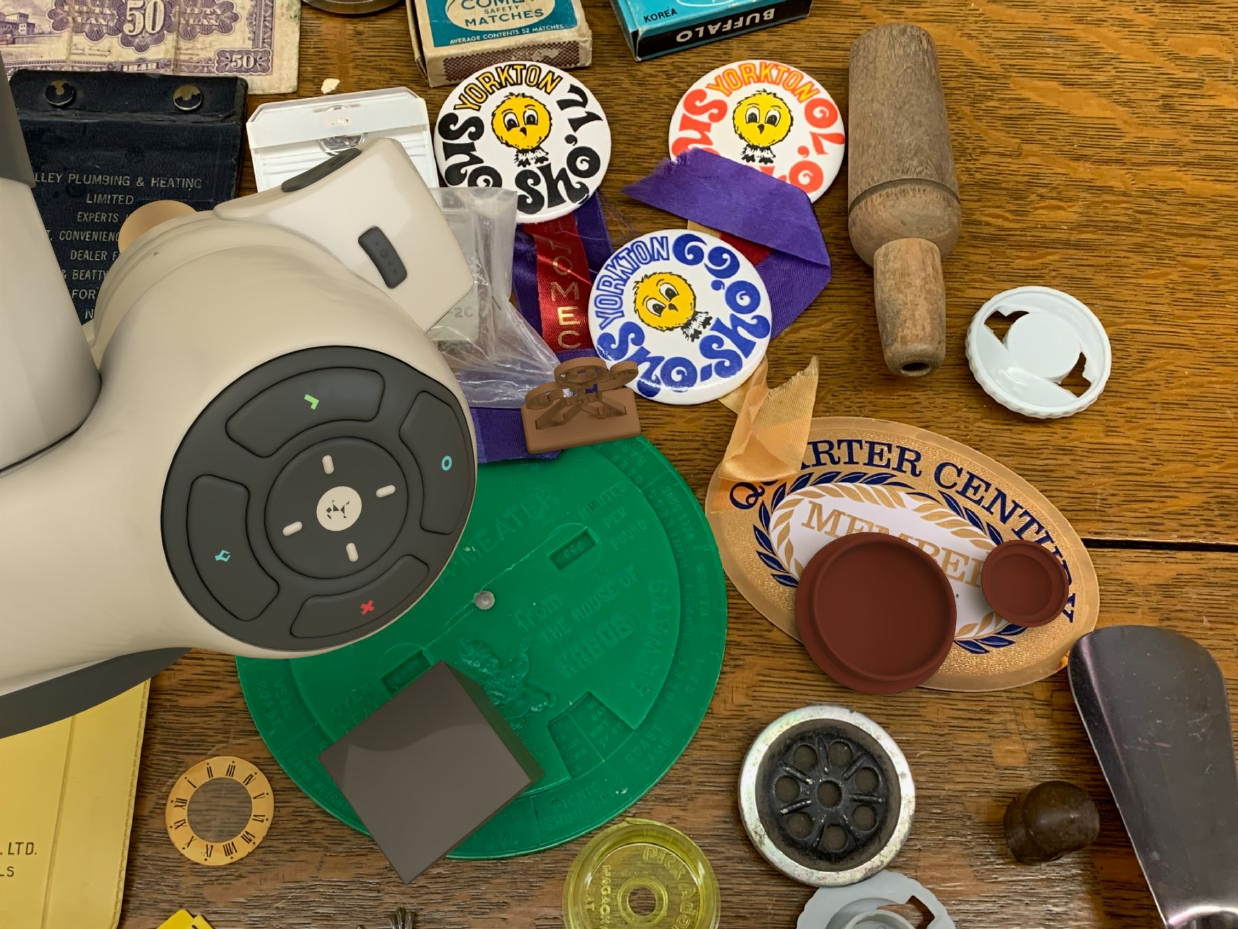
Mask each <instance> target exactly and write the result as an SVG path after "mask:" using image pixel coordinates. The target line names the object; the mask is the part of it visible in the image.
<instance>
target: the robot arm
mask: <svg viewBox="0 0 1238 929" xmlns="http://www.w3.org/2000/svg"><path fill="white" fill-rule="evenodd" d="M20 122H21V121H20V119H19V115H18V112H17V107H16V104H15V101H14V97H13V93H12V89H11V85H10V82H9V77H8V74H7V70H6V66H5V62H4V60H3V55H2V51H1V50H0V740H2V739H6V738H9V737H12V736H13V737H14V736H16V735H19V734H23V733H27V732H30V731H33V730H36V729H39V728H42V727H46V726H49V725H51V724H54V723H58V722H60V721H62V720H66V719H69V718H70V717H71V718H72V717H73V716H76V715H78V714H80V713H83V712H86V711H88V710H90V709H93V708H95V707H97V706H99V705H102V704H104V703H105V702H108V701H110V700H112V699H114V698H115V697H118V696H120V695H122V694H124V693H125V692H128V691H130V690H132V689H134V688H135V687H137V686H139V685H141V684H142V683H144V682H146V681H148V680H149V679H151V678H153V677H155V676H156V675H158V674H160V673H162V672H163V671H165V670H166V669H168V668H169V667H172V665H174V664H175V663H177V662H178V661H179V660H181V658H183V657H184V656H185V655H187V654H188V653H190V652H191V651H192V650H193V649H202V650H207V651H212V652H217V653H223V654H227V655H231V656H237V657H244V658H251V659H268V660H284V659H298V658H307V657H313V656H318V655H322V654H326V653H329V652H332V651H336V650H340V649H342V648H345V647H347V646H350V645H352V644H355V643H357V642H360V641H362V640H365V639H368V638H370V637H371V636H373V635H375V634H377V633H379V632H380V631H383V630H384V629H385V628H387V627H388V626H390V625H392V624H393V623H394V622H396V621H397V620H399V619H400V618H401V617H403V616H404V615H405V614H406V613H407V612H409V611H410V610H411V609H412V608H413V607H414V606H415V605H417V603H418V602H419V601H420V600H422V598H423V597H424V596H425V595H426V594H427V593H428V592H429V590H430V589H431V588H432V587H433V586H434V584H436V582H437V581H438V579H439V578H440V576H441V575H442V573H443V571H444V570H445V569H446V567H447V566H448V564H449V562H450V561H451V559H452V558H453V555H454V553H455V551H456V549H457V548H458V546H459V543H460V542H461V538H462V536H463V533H464V532H465V529H466V527H467V524H468V521H469V518H470V514H471V512H472V507H473V504H474V500H475V495H476V488H477V480H478V447H477V446H478V445H477V444H478V443H477V436H476V429H475V423H474V420H473V417H472V413H471V410H470V406H469V403H468V401H467V400H468V399H467V398H466V396H465V393H464V392H463V389H462V387H461V385H460V383H459V381H458V379H457V378H456V376H455V374H454V373H453V371H452V369H451V367H450V365H449V364H448V362H447V361H446V359H445V357H444V356H443V354H442V353H441V352H440V350H439V348H437V346H436V345H435V344H434V342H433V341H432V339H431V338H430V336H428V335H427V334H428V332H429V331H431V330H432V329H433V327H435V326H436V325H437V324H438V323H439V322H440V321H441V320H442V319H443V318H444V317H445V316H446V315H448V313H450V312H451V310H452V309H453V308H454V307H455V306H457V305H458V304H459V303H460V302H461V301H462V300H463V299H464V298H466V296H467V295H468V294H469V293H470V292H471V291H472V289H473V287H474V284H475V277H474V274H473V272H472V270H471V267H470V265H469V263H468V260H467V258H466V256H465V253H464V252H463V249H462V246H461V245H460V243H459V241H458V238H456V234H455V232H454V230H453V228H452V227H451V225H450V223H449V222H448V219H447V217H446V216H445V214H444V212H443V211H442V209H441V207H440V205H439V203H438V201H437V200H436V198H435V196H434V194H433V193H432V191H431V189H430V188H429V186H428V184H427V182H426V181H425V179H424V178H423V176H422V175H421V174H420V171H419V170H418V168H417V167H416V165H415V163H414V162H413V160H412V159H411V157H410V155H409V153H408V151H407V150H406V149H405V147H404V146H403V144H402V143H401V142H400V141H399V140H398V139H396V138H393V137H385V136H379V137H372V138H368V139H366V140H363V141H361V142H360V143H359V144H357V145H355V146H353V147H349V148H347V149H344V150H342V151H341V152H339V153H337V154H335V155H334V156H332V157H330V158H327V160H325V161H323V162H320V163H319V164H317V165H315V166H313V167H312V168H310V169H308V170H305V171H304V172H301V173H299V174H297V175H295V176H293V177H290V178H288V179H286V180H284V181H283V182H282V183H281V184H279V185H277V186H273V187H271V188H269V189H264V190H262V191H259V192H256V193H253V194H252V193H251V194H249V195H244V196H241V197H240V196H239V197H237V198H232V199H230V200H226V201H224V202H221V203H218V204H216V205H215V206H214V208H212V210H204V211H203V210H202V211H196V212H195V213H190V214H186V215H182V216H179V217H176V218H173V219H170V220H168V221H165V222H163V223H161V224H159V225H157V226H155V227H153V228H151V229H150V230H148V231H147V232H145V233H144V234H142V235H141V236H140V237H138V238H137V239H136V240H135V241H133V242H132V243H131V244H130V245H129V246H128V247H127V248H126V249H125V250H124V251H123V252H122V253H121V254H120V253H119V256H118V257H117V258H116V259H115V261H114V262H113V264H112V265H111V266H110V268H109V270H108V272H107V273H106V275H105V277H104V279H103V281H102V283H101V286H100V289H99V292H98V293H97V294H98V295H97V298H96V301H95V307H94V314H93V318H92V319H90V320H89V321H87V322H85V323H84V324H82V323H81V321H80V318H79V315H78V313H77V310H76V308H75V305H74V302H73V299H72V297H71V294H70V291H69V289H68V286H67V283H66V281H65V278H64V276H63V273H62V269H61V267H60V265H59V262H58V259H57V256H56V254H55V251H54V248H53V245H52V243H51V239H50V238H49V235H48V232H47V230H46V227H45V224H44V222H43V219H42V216H41V213H40V211H39V207H38V205H37V203H36V200H35V198H34V194H33V192H32V189H33V188H36V187H37V183H36V179H35V175H34V172H33V167H32V164H31V160H30V157H29V153H28V148H27V146H26V145H27V144H26V141H25V138H24V137H25V136H24V134H23V130H22V126H21V123H20Z"/></svg>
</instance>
